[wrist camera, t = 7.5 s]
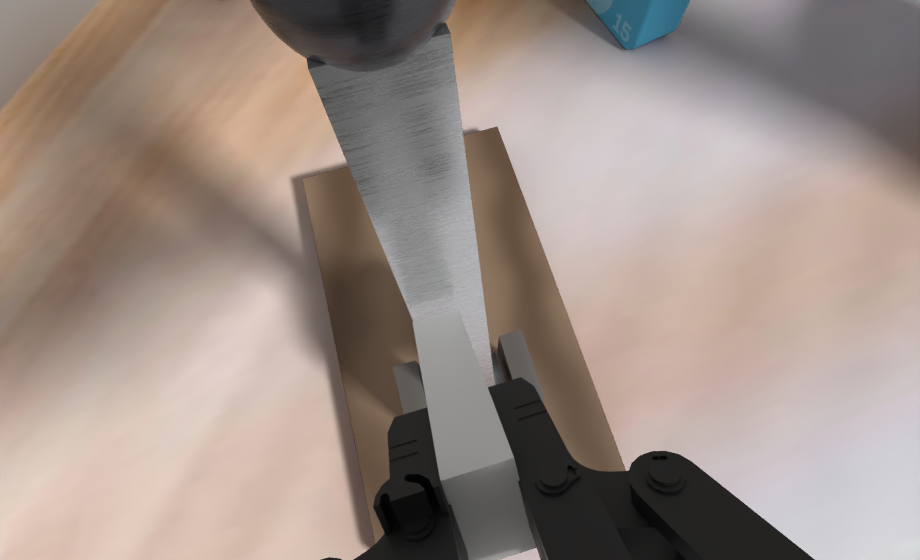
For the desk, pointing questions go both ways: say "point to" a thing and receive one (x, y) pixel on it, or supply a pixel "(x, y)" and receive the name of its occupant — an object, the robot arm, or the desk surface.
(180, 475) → the desk surface
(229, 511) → the desk surface
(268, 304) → the desk surface
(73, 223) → the desk surface
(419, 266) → the lever
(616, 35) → the data package
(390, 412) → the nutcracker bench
